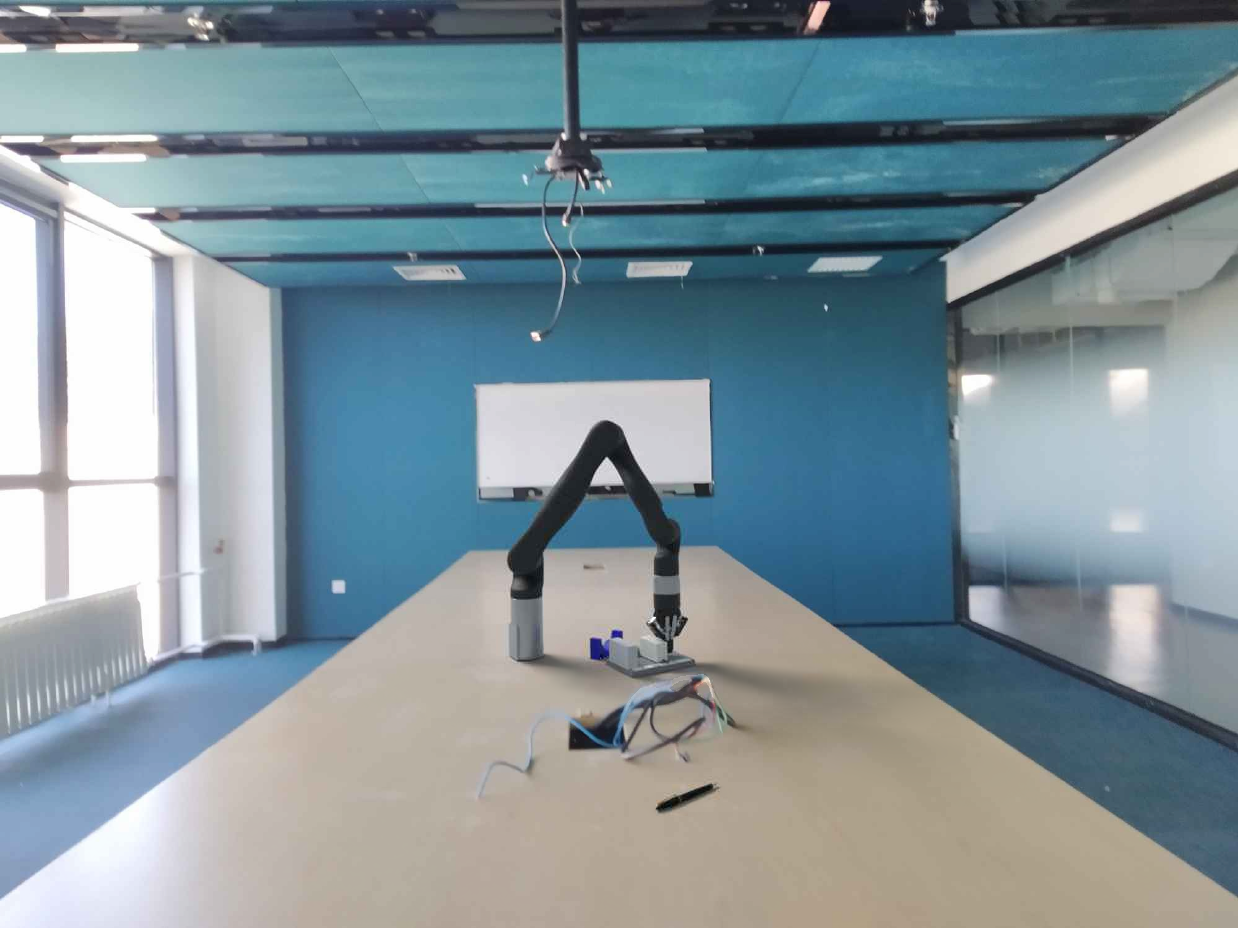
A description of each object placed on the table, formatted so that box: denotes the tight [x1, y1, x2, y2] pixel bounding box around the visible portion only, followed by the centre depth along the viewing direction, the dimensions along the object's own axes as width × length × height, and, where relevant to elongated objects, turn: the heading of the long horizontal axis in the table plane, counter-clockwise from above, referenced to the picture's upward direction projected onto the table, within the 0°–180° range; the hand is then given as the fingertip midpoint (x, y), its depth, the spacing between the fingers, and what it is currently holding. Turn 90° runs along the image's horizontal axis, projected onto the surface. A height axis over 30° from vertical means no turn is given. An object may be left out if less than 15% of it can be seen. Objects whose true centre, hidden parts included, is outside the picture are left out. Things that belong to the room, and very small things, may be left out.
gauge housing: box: [605, 637, 696, 679], centre depth 194 cm, size 20×14×8 cm
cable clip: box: [589, 629, 624, 661], centre depth 206 cm, size 12×4×6 cm, turn 145°
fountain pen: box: [655, 782, 718, 811], centre depth 118 cm, size 14×1×2 cm, turn 128°
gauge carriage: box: [638, 634, 669, 663], centre depth 194 cm, size 4×12×5 cm, turn 30°
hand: (667, 652), depth 197 cm, fingers closed
